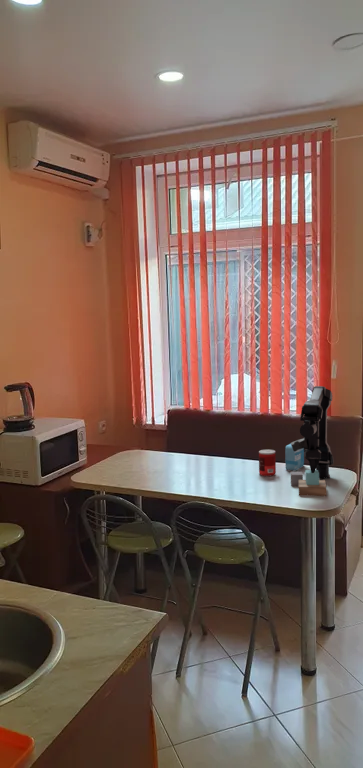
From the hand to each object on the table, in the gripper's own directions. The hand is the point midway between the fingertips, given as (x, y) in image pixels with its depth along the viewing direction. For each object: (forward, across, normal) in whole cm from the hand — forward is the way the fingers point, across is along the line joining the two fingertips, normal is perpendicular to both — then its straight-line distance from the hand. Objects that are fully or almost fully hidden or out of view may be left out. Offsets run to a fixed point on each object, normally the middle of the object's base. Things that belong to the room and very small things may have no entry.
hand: (311, 470), depth 243 cm
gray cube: (+9, -11, -6) cm, 16 cm away
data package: (+9, -39, -6) cm, 41 cm away
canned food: (+10, -27, -19) cm, 34 cm away
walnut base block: (+10, 0, 0) cm, 10 cm away
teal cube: (+6, 0, 0) cm, 6 cm away
